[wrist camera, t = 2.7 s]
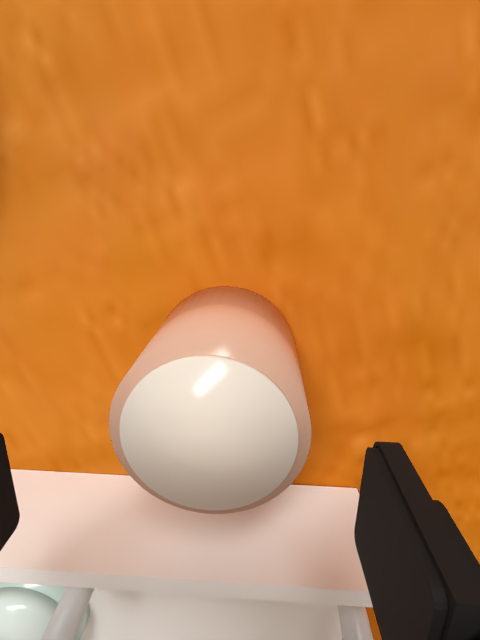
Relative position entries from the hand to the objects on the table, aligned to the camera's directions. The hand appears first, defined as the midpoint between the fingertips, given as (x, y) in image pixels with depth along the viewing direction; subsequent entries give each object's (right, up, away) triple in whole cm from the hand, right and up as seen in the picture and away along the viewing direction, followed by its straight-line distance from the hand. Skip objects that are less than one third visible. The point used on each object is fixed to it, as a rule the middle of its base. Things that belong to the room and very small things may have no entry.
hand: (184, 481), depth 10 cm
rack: (-3, -11, +12) cm, 17 cm away
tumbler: (+1, +3, +7) cm, 8 cm away
